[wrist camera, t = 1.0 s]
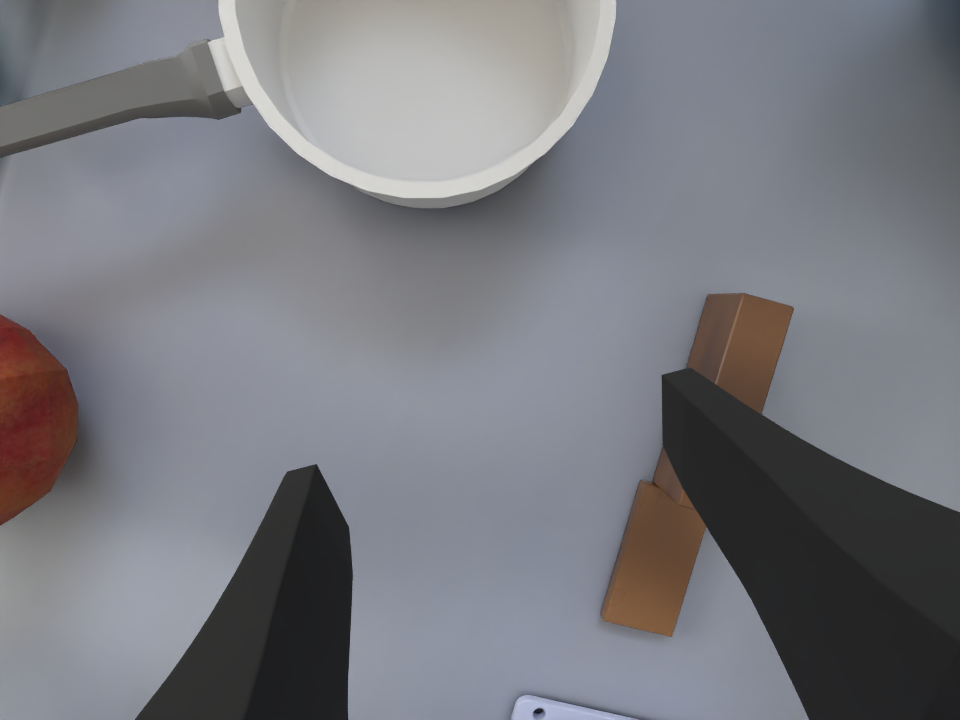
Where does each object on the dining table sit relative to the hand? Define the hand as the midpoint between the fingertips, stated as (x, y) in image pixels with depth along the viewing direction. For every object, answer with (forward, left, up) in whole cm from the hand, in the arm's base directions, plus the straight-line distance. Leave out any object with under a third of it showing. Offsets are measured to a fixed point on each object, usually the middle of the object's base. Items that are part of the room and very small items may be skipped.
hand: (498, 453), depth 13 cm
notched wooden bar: (-9, 0, -12) cm, 15 cm away
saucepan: (+8, -9, -12) cm, 17 cm away
